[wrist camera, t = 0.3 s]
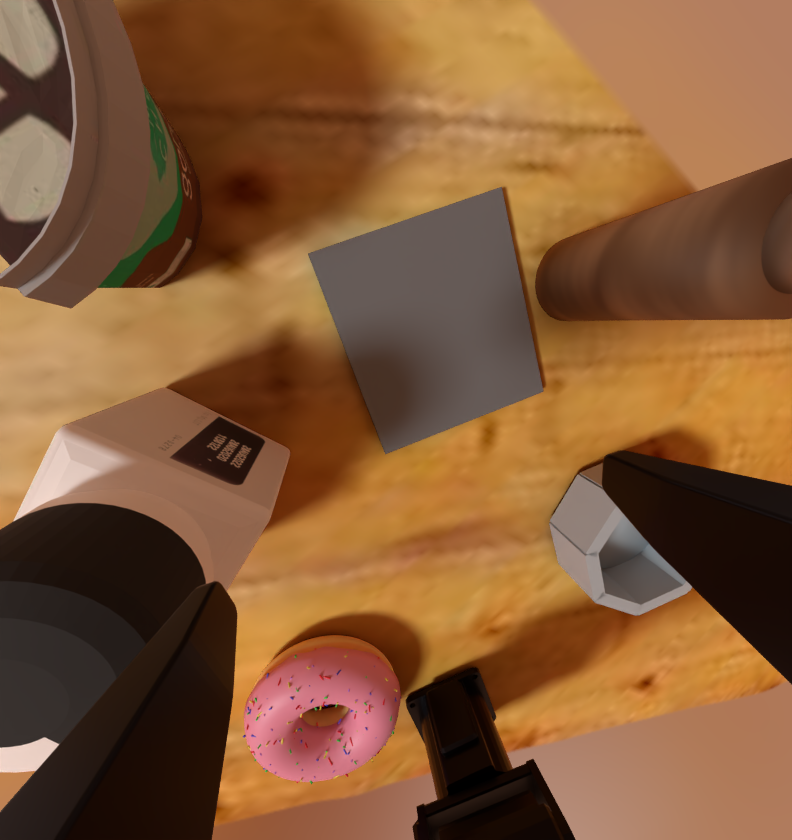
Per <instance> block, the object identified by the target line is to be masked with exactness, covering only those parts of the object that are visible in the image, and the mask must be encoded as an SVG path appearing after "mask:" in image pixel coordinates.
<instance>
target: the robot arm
mask: <svg viewBox="0 0 792 840" xmlns="http://www.w3.org/2000/svg"><path fill="white" fill-rule="evenodd" d="M602 487H603V490H604V491H605V493H606V494H607V495H608V497H609V498H610V499H611V500H612V501H613V503H614V504H615V505H616V506H617V507H618V508H619V510H620V511H621V512H622V513H623V514H624V515H625V517H626V518H627V519H628V520H629V521H630V522H631V524H632V525H633V526H634V527H635V528H636V529H637V531H638V532H639V533H640V534H641V535H642V537H643V538H644V539H645V540H646V541H647V542H648V543H649V544H650V545H651V547H652V548H653V549H654V550H655V551H656V552H657V553H658V554H659V555H660V556H661V557H662V558H663V559H664V560H665V561H666V562H667V563H668V564H669V565H670V566H671V567H672V568H673V569H674V570H676V571H677V572H678V573H679V574H680V575H681V576H682V577H683V578H684V579H685V580H686V581H687V582H688V583H689V584H690V585H691V586H692V587H693V588H694V589H695V590H696V591H697V592H698V593H699V594H700V595H701V596H702V597H703V598H704V599H705V600H706V601H707V602H708V603H709V604H710V605H711V606H712V607H713V608H714V609H715V610H716V611H717V612H718V613H719V614H720V615H721V616H722V617H723V618H724V619H725V620H727V621H728V622H729V623H730V624H731V625H732V626H733V627H734V628H735V629H736V630H737V631H738V632H739V633H740V634H741V635H742V636H743V637H744V638H745V639H746V640H747V641H748V642H749V643H750V644H751V645H752V646H753V647H754V648H755V649H756V650H757V651H758V652H759V653H760V654H761V655H762V656H763V657H764V658H765V659H766V660H767V661H768V662H769V663H770V664H771V665H772V666H773V667H774V668H775V669H776V670H777V671H779V672H780V673H781V674H782V675H783V676H784V677H785V678H786V679H787V680H788V681H789V682H790V683H791V684H792V486H790V485H785V484H781V483H776V482H771V481H766V480H762V479H757V478H752V477H747V476H743V475H738V474H733V473H728V472H724V471H719V470H714V469H709V468H705V467H700V466H695V465H691V464H686V463H681V462H676V461H672V460H667V459H662V458H657V457H653V456H648V455H643V454H638V453H634V452H629V451H617V452H614V453H611V454H608V455H606V456H605V457H604V459H603V467H602ZM236 632H237V610H236V607H235V604H234V603H233V601H232V599H231V598H230V596H229V595H228V593H227V592H226V590H225V588H224V587H223V585H222V584H221V583H220V582H218V581H213V582H210V583H207V584H204V585H201V586H199V587H197V588H196V589H195V590H194V591H193V592H192V593H191V594H190V595H189V596H188V597H187V599H186V600H185V601H184V602H183V603H182V604H181V605H180V607H179V608H178V609H177V610H176V611H175V612H174V613H173V615H172V616H171V617H170V618H169V619H168V620H167V621H166V623H165V624H164V625H163V626H162V627H161V628H160V629H159V631H158V632H157V633H156V634H155V635H154V636H153V637H152V639H151V640H150V641H149V642H148V643H147V644H146V645H145V647H144V648H143V649H142V650H141V651H140V652H139V654H138V655H137V656H136V657H135V658H134V659H133V660H132V662H131V663H130V664H129V665H128V666H127V667H126V668H125V670H124V671H123V672H122V673H121V674H120V675H119V676H118V678H117V679H116V680H115V681H114V682H113V683H112V684H111V686H110V687H109V688H108V689H107V690H106V691H105V692H104V694H103V695H102V696H101V697H100V698H99V699H98V700H97V702H96V703H95V704H94V705H93V706H92V707H91V709H90V710H89V711H88V712H87V713H86V714H85V715H84V717H83V718H82V719H81V720H80V721H79V722H78V723H77V725H76V726H75V727H74V728H73V729H72V730H71V731H70V733H69V734H68V735H67V736H66V737H65V738H64V739H63V741H62V742H61V743H60V744H59V745H58V746H57V747H56V749H55V750H54V751H53V752H52V753H51V754H50V755H49V757H48V758H47V759H46V760H45V761H44V762H43V763H42V765H41V766H40V767H39V768H38V769H37V770H36V771H35V773H34V774H33V775H32V776H31V777H30V778H29V779H28V781H27V782H26V783H25V784H24V785H23V786H22V787H21V789H20V790H19V791H18V792H17V793H16V794H15V795H14V797H13V798H12V799H11V800H10V801H9V802H8V804H7V805H6V806H5V807H4V808H3V809H2V810H1V812H0V840H212V834H213V827H214V821H215V814H216V807H217V801H218V794H219V787H220V781H221V774H222V767H223V761H224V754H225V747H226V741H227V734H228V728H229V721H230V714H231V707H232V699H233V688H234V671H235V652H236ZM406 706H407V709H408V711H409V713H410V715H411V717H412V719H413V721H414V723H415V725H416V727H417V729H418V731H419V733H420V735H421V737H422V739H423V741H424V743H425V746H426V750H427V755H428V759H429V764H430V768H431V773H432V777H433V782H434V786H435V791H436V795H437V800H436V801H434V802H431V803H429V804H426V805H424V804H422V805H419V806H417V813H418V820H417V821H416V823H415V824H414V825H413V832H414V839H415V840H575V838H574V835H573V833H572V831H571V829H570V827H569V825H568V823H567V821H566V820H565V818H564V816H563V814H562V812H561V810H560V808H559V806H558V804H557V803H556V801H555V799H554V797H553V795H552V793H551V791H550V789H549V787H548V786H547V784H546V782H545V780H544V778H543V776H542V775H541V772H540V771H539V769H538V767H537V765H536V763H535V762H534V759H531V760H529V761H527V762H526V764H524V765H521V766H519V767H516V768H514V769H513V768H512V765H511V763H510V760H509V758H508V755H507V753H506V750H505V748H504V746H503V743H502V741H501V738H500V736H499V733H498V731H497V728H496V726H495V723H494V720H495V719H496V715H495V712H494V710H493V707H492V704H491V702H490V699H489V696H488V693H487V691H486V688H485V685H484V683H483V680H482V677H481V675H480V672H479V670H478V669H477V668H471V669H469V670H467V671H464V672H462V673H460V674H458V675H456V676H453V677H451V678H449V679H447V680H445V681H442V682H440V683H438V684H436V685H434V686H431V687H429V688H427V689H425V690H422V691H420V692H418V693H416V694H414V695H411V696H409V697H408V698H407V699H406Z"/></svg>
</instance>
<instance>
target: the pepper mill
mask: <svg viewBox="0 0 792 840" xmlns="http://www.w3.org/2000/svg"><path fill="white" fill-rule="evenodd" d="M535 288H536V294H537V298H538V301H539V303H540V305H541V307H542V308H543V310H544V311H545V312H546V313H547V314H548V315H550V316H551V317H553V318H555V319H558V320H563V321H595V320H760V319H790V318H792V158H790V159H788V160H785V161H782V162H779V163H776V164H774V165H771V166H768V167H765V168H763V169H760V170H757V171H754V172H751V173H748V174H746V175H743V176H740V177H737V178H734V179H731V180H729V181H726V182H723V183H720V184H717V185H715V186H712V187H709V188H706V189H704V190H701V191H698V192H695V193H692V194H689V195H687V196H684V197H681V198H678V199H675V200H673V201H670V202H667V203H664V204H661V205H658V206H656V207H653V208H650V209H647V210H644V211H642V212H639V213H636V214H633V215H630V216H628V217H625V218H622V219H619V220H616V221H614V222H611V223H608V224H605V225H602V226H599V227H597V228H594V229H591V230H588V231H585V232H583V233H580V234H577V235H574V236H571V237H569V238H566V239H563V240H561V241H559V242H558V243H556V244H555V245H553V246H552V247H551V248H550V249H549V250H548V251H547V253H546V254H545V255H544V257H543V259H542V260H541V262H540V265H539V267H538V270H537V274H536V282H535Z"/></svg>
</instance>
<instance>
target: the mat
mask: <svg viewBox="0 0 792 840" xmlns="http://www.w3.org/2000/svg"><path fill="white" fill-rule="evenodd" d="M308 255H309V258H310V260H311V263H312V265H313V268H314V270H315V273H316V276H317V278H318V281H319V283H320V286H321V289H322V291H323V294H324V296H325V299H326V302H327V304H328V307H329V309H330V312H331V314H332V317H333V320H334V322H335V325H336V327H337V330H338V333H339V335H340V338H341V340H342V343H343V346H344V348H345V351H346V353H347V356H348V359H349V361H350V364H351V366H352V369H353V371H354V374H355V377H356V379H357V382H358V384H359V387H360V390H361V392H362V395H363V397H364V400H365V403H366V405H367V408H368V410H369V413H370V415H371V418H372V421H373V423H374V426H375V428H376V431H377V434H378V436H379V439H380V441H381V444H382V447H383V449H384V452H385V454H387V453H390V452H392V451H395V450H397V449H400V448H402V447H405V446H407V445H410V444H412V443H415V442H417V441H420V440H422V439H425V438H427V437H430V436H432V435H435V434H437V433H440V432H443V431H445V430H448V429H450V428H453V427H455V426H458V425H460V424H463V423H465V422H468V421H470V420H473V419H475V418H478V417H480V416H483V415H485V414H488V413H490V412H493V411H496V410H498V409H501V408H503V407H506V406H508V405H511V404H513V403H516V402H518V401H521V400H523V399H526V398H528V397H531V396H533V395H536V394H538V393H541V392H543V387H542V382H541V377H540V372H539V368H538V363H537V358H536V353H535V348H534V343H533V338H532V333H531V328H530V324H529V319H528V314H527V309H526V304H525V299H524V294H523V289H522V284H521V279H520V275H519V270H518V265H517V260H516V255H515V250H514V245H513V240H512V235H511V230H510V226H509V221H508V216H507V211H506V206H505V201H504V196H503V191H502V187H500V188H497V189H494V190H491V191H488V192H485V193H483V194H480V195H477V196H474V197H471V198H468V199H465V200H462V201H459V202H456V203H454V204H451V205H448V206H445V207H442V208H439V209H436V210H433V211H430V212H427V213H425V214H422V215H419V216H416V217H413V218H410V219H407V220H404V221H401V222H398V223H395V224H393V225H390V226H387V227H384V228H381V229H378V230H375V231H372V232H369V233H366V234H364V235H361V236H358V237H355V238H352V239H349V240H346V241H343V242H340V243H337V244H335V245H332V246H329V247H326V248H323V249H320V250H317V251H314V252H311V253H308Z"/></svg>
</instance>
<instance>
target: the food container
mask: <svg viewBox="0 0 792 840" xmlns="http://www.w3.org/2000/svg"><path fill="white" fill-rule="evenodd" d="M201 221H202V209H201V198H200V187H199V181H198V179H197V176H196V173H195V171H194V168H193V165H192V163H191V160H190V157H189V155H188V153H187V151H186V149H185V148H184V146H183V144H182V142H181V141H180V139H179V137H178V136H177V134H176V133H175V131H174V130H173V128H172V127H171V125H170V124H169V122H168V121H167V119H166V118H165V116H164V115H163V113H162V112H161V110H160V109H159V107H158V106H157V104H156V103H155V101H154V100H153V98H152V97H151V95H150V94H149V92H148V91H147V89H146V87H145V86H144V84H143V83H142V80H141V76H140V73H139V69H138V66H137V62H136V59H135V55H134V52H133V48H132V45H131V42H130V39H129V37H128V35H127V32H126V30H125V28H124V25H123V23H122V21H121V18H120V16H119V14H118V11H117V9H116V6H115V4H114V2H113V0H0V255H1V256H2V257H3V258H4V259H5V260H6V261H7V262H8V263H9V265H10V266H9V267H8V268H7V269H6V270H4V271H3V272H2V273H0V286H3V287H10V288H17V289H18V290H19V291H20V292H21V293H22V294H23V295H24V296H25V297H28V298H32V299H36V300H40V301H44V302H48V303H52V304H56V305H60V306H64V307H68V308H73V307H74V306H75V305H76V304H78V303H79V302H80V301H82V300H83V299H84V298H86V297H87V296H88V295H89V294H91V293H92V292H93V291H95V290H96V289H97V288H161V287H162V286H163V285H164V284H166V283H167V282H168V281H170V280H171V279H172V278H173V277H175V276H176V275H177V274H179V272H180V270H181V269H182V267H183V266H184V264H185V263H186V261H187V260H188V258H189V257H190V255H191V254H192V252H193V251H194V249H195V246H196V242H197V238H198V233H199V229H200V225H201Z"/></svg>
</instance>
